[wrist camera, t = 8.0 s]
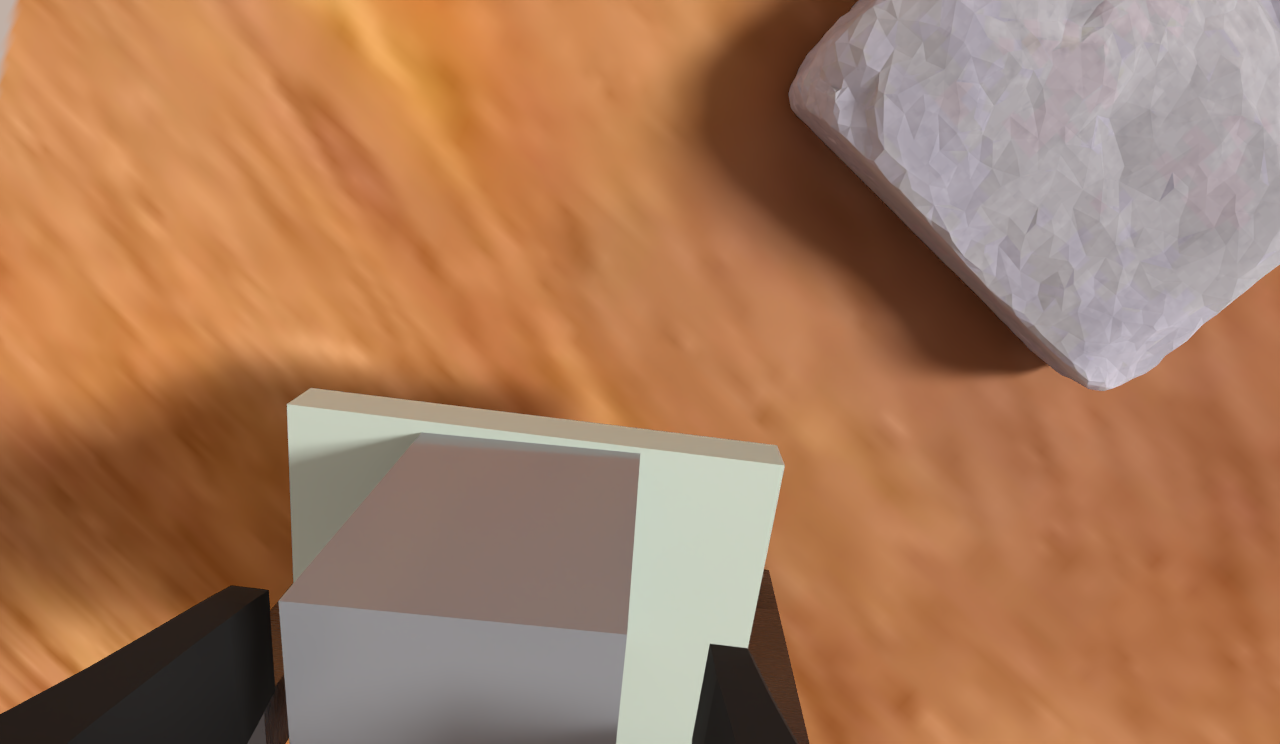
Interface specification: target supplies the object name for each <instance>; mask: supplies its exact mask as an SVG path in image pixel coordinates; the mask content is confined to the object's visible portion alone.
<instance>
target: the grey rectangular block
mask: <svg viewBox="0 0 1280 744" xmlns="http://www.w3.org/2000/svg"><path fill="white" fill-rule="evenodd" d="M639 466H640V453H631V452H621V451H610V450H600V449H590V448H579V447H569V446H558V445H548V444H538V443H527V442H517V441H507V440H496V439H486V438H475V437H465V436H455V435H444V434H434V433H423V432H422V433H421V434H420V435H419V436H418V437H417V439H416V440H415V441H414V442H413V443H412V444H411V446H410V447H409V448H408V449H407V450H406V452H405V453H404V454H403V455H402V456H401V457H400V459H399V460H398V461H397V462H396V463H395V464H394V466H393V467H392V468H391V469H390V470H389V472H388V473H387V474H386V475H385V476H384V477H383V479H382V480H381V481H380V482H379V483H378V484H377V486H376V487H375V488H374V489H373V490H372V492H371V493H370V494H369V495H368V496H367V497H366V499H365V500H364V501H363V502H362V503H361V504H360V506H359V507H358V508H357V509H356V510H355V511H354V513H353V514H352V515H351V516H350V517H349V519H348V520H347V521H346V522H345V523H344V524H343V526H342V527H341V528H340V529H339V530H338V531H337V533H336V534H335V535H334V536H333V537H332V539H331V540H330V541H329V542H328V543H327V544H326V546H325V547H324V548H323V549H322V550H321V551H320V553H319V554H318V555H317V556H316V557H315V559H314V560H313V561H312V562H311V563H310V564H309V566H308V567H307V568H306V569H305V570H304V571H303V573H302V574H301V575H300V576H299V577H298V579H297V580H296V581H295V582H294V583H293V584H292V586H291V587H290V588H289V589H288V590H287V591H286V593H285V594H284V595H283V596H282V597H281V599H280V600H279V601H278V602H279V615H280V627H281V640H282V653H283V665H284V678H285V691H286V704H287V716H288V729H289V742H290V744H616V739H617V729H618V719H619V709H620V700H621V690H622V680H623V670H624V660H625V650H626V641H627V629H628V616H629V602H630V588H631V575H632V561H633V547H634V534H635V520H636V507H637V493H638V479H639Z"/></svg>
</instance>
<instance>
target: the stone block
mask: <svg viewBox="0 0 1280 744" xmlns="http://www.w3.org/2000/svg"><path fill="white" fill-rule="evenodd" d="M788 95H789V101H790V106H791V109H792V110H793V112H794V113H795V114H796V115H797V117H798V118H800V119H801V120H802V121H803V122H804V123H805V124H806V125H807V126H808V127H809V128H810V129H811V130H812V131H813V132H814V133H815V134H816V135H817V136H818V137H819V138H820V139H821V140H822V141H823V142H824V143H825V144H826V145H827V146H828V147H829V148H830V149H831V150H832V151H833V152H834V153H835V154H836V155H837V156H838V157H839V158H840V159H841V160H842V161H843V162H844V163H845V164H846V165H847V166H848V167H849V168H850V169H851V170H852V171H853V172H854V173H855V174H856V175H857V176H858V177H859V178H860V179H861V180H862V181H863V182H864V183H865V184H866V185H867V186H868V187H869V188H870V189H871V190H872V191H873V192H874V193H875V194H876V195H877V196H878V197H879V198H880V199H881V200H882V201H883V202H884V203H885V204H886V205H887V206H888V207H889V208H890V209H891V210H892V211H893V212H894V213H895V214H896V215H897V216H898V217H899V218H900V219H901V220H902V221H903V222H904V223H905V224H906V225H907V226H908V227H909V228H910V229H911V230H912V232H914V233H915V234H916V235H917V236H918V237H919V238H920V239H921V240H922V241H923V242H924V243H925V244H926V245H927V246H928V247H929V248H930V249H931V250H932V251H933V252H934V253H935V254H936V255H937V256H938V257H939V258H940V259H941V260H942V261H943V262H944V264H946V265H947V266H948V267H949V268H950V269H951V270H952V271H953V272H954V273H955V274H956V275H957V276H958V277H959V278H960V279H961V280H962V281H963V282H964V283H965V284H966V285H967V286H968V287H969V288H970V289H971V290H972V291H973V292H974V293H975V294H976V295H977V296H978V297H979V298H980V299H981V300H982V301H983V302H984V303H985V304H986V305H987V306H988V307H989V308H990V309H991V310H992V311H993V312H994V313H995V314H996V315H997V316H998V318H999V319H1000V320H1001V321H1002V322H1004V323H1005V324H1006V325H1007V326H1008V327H1009V328H1010V330H1011V331H1012V332H1013V333H1014V334H1015V335H1016V336H1017V337H1018V338H1019V339H1020V340H1022V341H1023V343H1024V344H1025V345H1026V346H1027V347H1028V348H1029V349H1030V350H1031V351H1032V352H1033V353H1035V354H1036V355H1037V356H1038V357H1039V358H1040V359H1042V360H1043V361H1044V362H1046V363H1047V364H1048V365H1049V366H1051V367H1052V368H1053V369H1054V370H1055V371H1057V372H1058V373H1059V374H1061V375H1063V376H1066V377H1068V378H1071V379H1072V380H1074V381H1076V382H1078V383H1079V384H1081V385H1083V386H1084V387H1086V388H1088V389H1092V390H1099V391H1105V390H1109V389H1112V388H1115V387H1117V386H1119V385H1122V384H1124V383H1126V382H1127V381H1129V380H1131V379H1133V378H1136V377H1138V376H1140V375H1143V374H1145V373H1146V372H1148V371H1149V370H1151V369H1152V368H1154V367H1155V366H1157V365H1158V364H1159V362H1160V361H1161V360H1162V359H1163V358H1164V356H1165V355H1167V354H1168V353H1170V352H1171V351H1173V350H1174V349H1176V348H1177V347H1179V346H1180V345H1182V344H1183V343H1185V342H1186V341H1187V340H1188V339H1189V338H1190V337H1191V336H1192V335H1193V334H1194V333H1195V332H1196V331H1197V330H1198V329H1199V328H1200V327H1201V326H1202V325H1203V324H1204V323H1205V322H1207V321H1208V320H1210V319H1211V318H1212V317H1214V316H1215V315H1217V314H1218V313H1219V312H1220V311H1222V310H1223V309H1224V308H1225V307H1227V306H1228V305H1229V304H1230V303H1231V302H1233V301H1234V300H1235V299H1236V298H1238V297H1239V296H1240V295H1241V294H1243V293H1244V292H1245V291H1246V290H1248V289H1249V288H1250V287H1251V286H1253V285H1254V284H1255V283H1256V282H1257V281H1258V280H1259V279H1261V278H1262V277H1263V276H1265V275H1266V274H1267V273H1269V272H1270V271H1271V270H1273V269H1274V268H1275V267H1277V266H1278V265H1279V264H1280V0H859V1H857V2H856V3H855V4H854V5H853V6H852V8H851V10H850V11H849V12H848V13H846V14H845V15H843V16H842V17H840V18H839V19H838V20H837V21H836V23H835V24H834V25H833V26H832V27H831V28H830V29H829V30H828V31H827V32H826V33H825V35H824V36H823V37H822V39H821V40H820V41H819V42H818V43H817V44H816V45H815V47H814V48H813V49H812V50H811V51H810V52H809V53H808V54H807V55H806V57H805V59H804V61H803V62H802V64H801V66H800V67H799V69H798V72H797V75H796V77H795V79H794V81H793V82H792V84H791V87H790V90H789V94H788Z"/></svg>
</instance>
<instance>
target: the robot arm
mask: <svg viewBox="0 0 1280 744" xmlns="http://www.w3.org/2000/svg"><path fill="white" fill-rule="evenodd" d="M274 692H275V677H274V662H273V647H272V632H271V617H270V603H269V590H264V589H256V588H248V587H240V586H230V587H228V588H226V589H224V590H222V591H220V592H218V593H216V594H215V595H213V596H211V597H209V598H207V599H206V600H204V601H202V602H200V603H199V604H197V605H195V606H193V607H192V608H190V609H188V610H187V611H185V612H183V613H181V614H180V615H178V616H176V617H175V618H173V619H171V620H170V621H168V622H166V623H164V624H163V625H161V626H159V627H158V628H156V629H154V630H152V631H151V632H149V633H147V634H146V635H144V636H142V637H140V638H139V639H137V640H135V641H133V642H132V643H130V644H128V645H126V646H125V647H123V648H121V649H120V650H118V651H116V652H114V653H113V654H111V655H109V656H107V657H106V658H104V659H102V660H100V661H99V662H97V663H95V664H93V665H92V666H90V667H88V668H86V669H84V670H83V671H81V672H79V673H77V674H75V675H73V676H71V677H69V678H68V679H66V680H64V681H62V682H60V683H58V684H56V685H55V686H53V687H51V688H49V689H47V690H45V691H43V692H41V693H40V694H38V695H36V696H34V697H32V698H30V699H28V700H27V701H25V702H23V703H21V704H19V705H17V706H15V707H13V708H12V709H10V710H8V711H6V712H4V713H2V714H0V744H247V743H248V742H249V740H250V738H251V736H252V734H253V732H254V731H255V729H256V727H257V725H258V723H259V721H260V719H261V717H262V715H263V713H264V711H265V709H266V708H267V706H268V704H269V702H270V700H271V698H272V696H273V694H274ZM692 744H799V743H798V742H797V740H796V738H795V736H794V735H793V733H792V731H791V729H790V728H789V726H788V724H787V722H786V721H785V719H784V717H783V715H782V713H781V711H780V709H779V708H778V706H777V704H776V702H775V700H774V698H773V696H772V694H771V692H770V690H769V688H768V686H767V684H766V682H765V680H764V678H763V676H762V674H761V672H760V670H759V668H758V666H757V664H756V662H755V660H754V657H753V655H752V654H751V653H750V651H749V650H748V649H747V648H742V647H734V646H725V645H717V644H710V645H709V650H708V656H707V661H706V667H705V672H704V677H703V683H702V688H701V693H700V699H699V704H698V709H697V715H696V720H695V725H694V731H693V736H692Z"/></svg>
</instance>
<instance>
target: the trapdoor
mask: <svg viewBox="0 0 1280 744" xmlns="http://www.w3.org/2000/svg"><path fill="white" fill-rule="evenodd" d="M287 424H288V451H289V478H290V505H291V532H292V559H293V583H294V582H295V581H296V580H297V579H298V577H299V576H300V575H301V574H302V573H303V571H304V570H305V569H306V568H307V567H308V566H309V564H310V563H311V562H312V561H313V560H314V559H315V557H316V556H317V555H318V554H319V553H320V551H321V550H322V549H323V548H324V547H325V546H326V544H327V543H328V542H329V541H330V540H331V539H332V537H333V536H334V535H335V534H336V533H337V531H338V530H339V529H340V528H341V527H342V526H343V524H344V523H345V522H346V521H347V520H348V519H349V517H350V516H351V515H352V514H353V513H354V511H355V510H356V509H357V508H358V507H359V506H360V504H361V503H362V502H363V501H364V500H365V499H366V497H367V496H368V495H369V494H370V493H371V492H372V490H373V489H374V488H375V487H376V486H377V484H378V483H379V482H380V481H381V480H382V479H383V477H384V476H385V475H386V474H387V473H388V472H389V470H390V469H391V468H392V467H393V466H394V464H395V463H396V462H397V461H398V460H399V459H400V457H401V456H402V455H403V454H404V453H405V452H406V450H407V449H408V448H409V447H410V446H411V444H412V443H413V442H414V441H415V440H416V439H417V437H418V436H419V435H420V434H421V433H422V432H423V433H434V434H444V435H455V436H465V437H475V438H486V439H496V440H507V441H517V442H527V443H538V444H548V445H558V446H569V447H579V448H590V449H600V450H610V451H621V452H631V453H640V466H639V479H638V493H637V507H636V520H635V534H634V547H633V561H632V575H631V588H630V602H629V616H628V629H627V641H626V650H625V660H624V670H623V680H622V690H621V700H620V709H619V719H618V729H617V739H616V744H692V736H693V731H694V725H695V720H696V715H697V709H698V704H699V699H700V693H701V688H702V683H703V677H704V672H705V667H706V661H707V656H708V650H709V645H710V644H717V645H725V646H734V647H742V648H747V649H748V645H749V640H750V635H751V630H752V625H753V620H754V615H755V610H756V605H757V600H758V596H759V591H760V586H761V581H762V576H763V571H764V566H765V561H766V556H767V551H768V546H769V541H770V536H771V531H772V526H773V521H774V516H775V511H776V506H777V501H778V496H779V491H780V486H781V481H782V477H783V472H784V467H785V465H784V462H783V460H782V457H781V455H780V452H779V449H778V447H777V445H770V444H762V443H753V442H745V441H737V440H729V439H721V438H713V437H705V436H697V435H689V434H681V433H672V432H664V431H656V430H648V429H640V428H632V427H624V426H616V425H608V424H600V423H591V422H583V421H575V420H567V419H559V418H551V417H543V416H535V415H527V414H519V413H511V412H502V411H494V410H486V409H478V408H470V407H462V406H454V405H446V404H438V403H430V402H421V401H413V400H405V399H397V398H389V397H381V396H373V395H365V394H357V393H349V392H340V391H332V390H324V389H316V388H310V389H308V390H307V391H305V392H304V393H303V394H301V395H300V396H298V397H297V398H295V399H294V400H292V401H291V402H289V403H288V404H287Z"/></svg>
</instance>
